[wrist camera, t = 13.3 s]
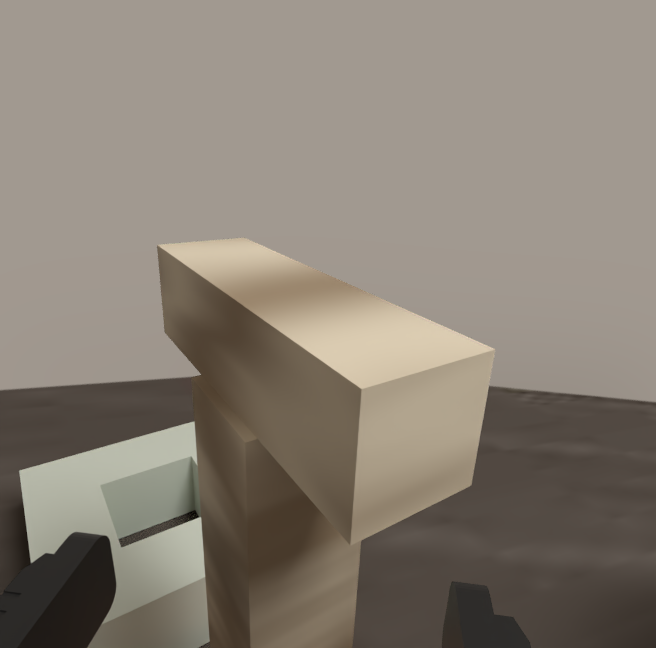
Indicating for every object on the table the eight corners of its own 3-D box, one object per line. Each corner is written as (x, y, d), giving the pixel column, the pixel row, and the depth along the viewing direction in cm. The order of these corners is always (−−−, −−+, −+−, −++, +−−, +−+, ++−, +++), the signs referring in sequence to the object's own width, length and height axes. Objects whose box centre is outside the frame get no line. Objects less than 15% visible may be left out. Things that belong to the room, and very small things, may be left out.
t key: (190, 705, 19) (147, 245, 13) (259, 665, 21) (252, 236, 14) (308, 1028, 13) (344, 394, 6) (397, 933, 14) (506, 346, 7)
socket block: (32, 527, 29) (19, 470, 27) (226, 461, 35) (224, 413, 33) (59, 721, 19) (41, 651, 18) (316, 584, 26) (318, 524, 24)
